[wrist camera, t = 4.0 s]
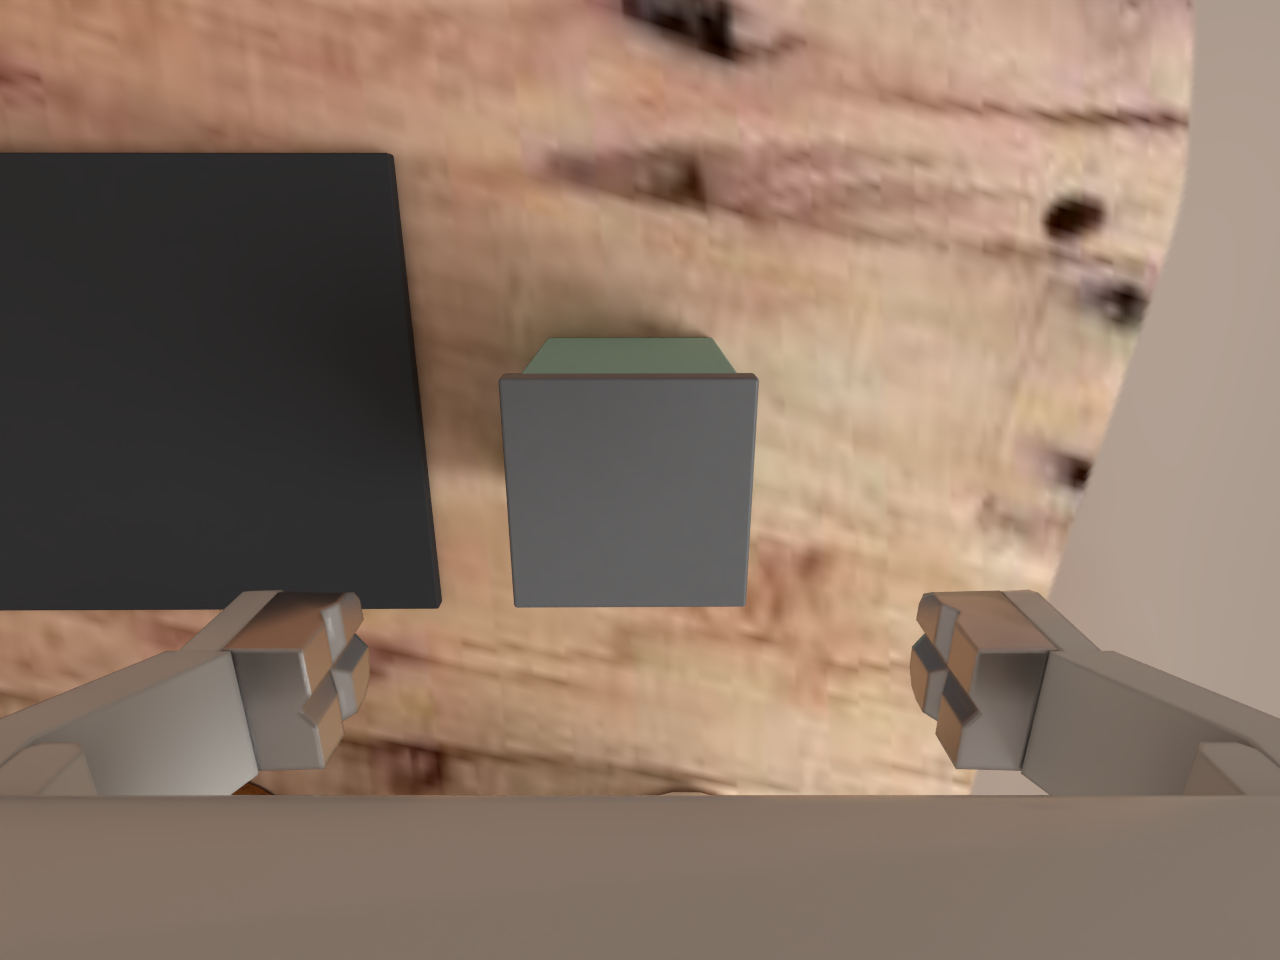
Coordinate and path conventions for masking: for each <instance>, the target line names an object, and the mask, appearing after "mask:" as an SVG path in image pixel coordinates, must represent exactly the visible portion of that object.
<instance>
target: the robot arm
mask: <svg viewBox="0 0 1280 960" xmlns="http://www.w3.org/2000/svg"><path fill="white" fill-rule="evenodd" d="M363 620H364V619H363V614H362V608H361V603H360V599H359V598H358V597H357V596H356V594H355V593H354V592H322V591H282V590H265V591H247V592H242V593H241V594H240V595H239V596H238V597H237V598H236V599H235V600H234V601H232V602H231V603H230V604H229V605H228V606H227V607H226V608H225V609H224V610H223V611H222V612H220V613H219V614H218V615H217V616H216V617H215V618H214V619H213V620H212V621H211V622H210V623H208V624H207V625H206V626H205V627H204V628H203V629H202V630H201V631H200V632H199V633H198V634H196V635H195V636H194V637H193V638H192V639H191V640H190V641H189V642H188V643H187V644H186V645H184V646H183V647H182V648H181V649H180V650H179V651H166V652H163V653H161V654H158V655H156V656H153V657H151V658H148V659H146V660H143V661H141V662H138V663H136V664H134V665H131V666H129V667H126V668H124V669H121V670H119V671H116V672H114V673H111V674H109V675H106V676H104V677H102V678H99V679H97V680H94V681H92V682H89V683H87V684H84V685H82V686H79V687H77V688H74V689H72V690H69V691H67V692H65V693H62V694H60V695H57V696H55V697H52V698H50V699H47V700H45V701H42V702H40V703H37V704H35V705H32V706H30V707H28V708H25V709H23V710H20V711H18V712H15V713H13V714H10V715H8V716H5V717H3V718H0V960H1280V719H1279V718H1277V717H1274V716H1272V715H1269V714H1267V713H1264V712H1262V711H1259V710H1257V709H1255V708H1252V707H1250V706H1247V705H1245V704H1242V703H1240V702H1237V701H1235V700H1232V699H1230V698H1227V697H1225V696H1223V695H1220V694H1218V693H1215V692H1213V691H1210V690H1208V689H1205V688H1203V687H1200V686H1198V685H1196V684H1193V683H1191V682H1188V681H1186V680H1183V679H1181V678H1178V677H1176V676H1173V675H1171V674H1168V673H1166V672H1164V671H1161V670H1159V669H1156V668H1154V667H1151V666H1149V665H1146V664H1144V663H1141V662H1139V661H1136V660H1134V659H1132V658H1129V657H1127V656H1124V655H1122V654H1119V653H1117V652H1114V651H1101V650H1100V649H1099V648H1098V647H1097V646H1096V645H1095V644H1093V643H1092V642H1091V641H1090V640H1089V639H1088V638H1087V637H1086V636H1085V635H1084V634H1083V633H1081V632H1080V631H1079V630H1078V629H1077V628H1076V627H1075V626H1074V625H1073V624H1072V623H1071V622H1069V621H1068V620H1067V619H1066V618H1065V617H1064V616H1063V615H1062V614H1061V613H1060V612H1059V611H1058V610H1056V609H1055V608H1054V607H1053V606H1052V605H1051V604H1050V603H1049V602H1048V601H1047V600H1046V599H1044V598H1043V597H1042V596H1041V595H1040V594H1039V593H1037V592H1034V591H1031V590H1015V591H966V592H931V593H925V594H923V596H922V599H921V601H920V603H919V607H918V613H917V619H916V620H917V622H918V623H919V625H920V626H921V628H922V629H923V631H924V632H925V634H924V635H923V636H922V637H921V638H920V639H919V640H918V641H917V642H916V643H915V644H914V645H913V646H912V652H911V660H910V675H911V685H912V689H913V692H914V695H915V698H916V701H917V702H918V704H919V706H920V708H921V710H922V712H924V713H925V714H927V715H928V716H930V717H932V718H933V719H935V720H936V721H937V727H936V733H935V734H936V736H937V737H938V739H939V741H940V743H941V744H942V746H943V748H944V749H945V751H946V753H947V754H948V756H949V758H950V760H951V761H952V763H953V765H954V766H955V768H956V769H978V770H1016V771H1021V774H1022V775H1024V776H1025V777H1026V778H1028V779H1029V780H1030V781H1032V782H1033V783H1035V784H1036V785H1037V786H1038V787H1040V788H1041V789H1042V790H1044V791H1045V792H1046V793H1048V794H1049V795H231V794H232V793H234V792H235V791H236V790H238V789H239V788H240V787H242V786H243V785H244V784H246V783H247V782H248V781H250V780H251V779H253V778H254V777H255V776H257V775H258V774H259V772H258V771H265V770H300V769H324V768H325V766H326V765H327V763H328V761H329V760H330V758H331V756H332V755H333V753H334V751H335V749H336V748H337V746H338V744H339V743H340V741H341V739H342V737H343V736H344V734H345V733H344V727H343V721H344V720H345V719H347V718H348V717H350V716H352V715H353V714H355V713H356V712H358V710H359V708H360V706H361V704H362V702H363V700H364V699H365V696H366V691H367V687H368V683H369V679H370V658H369V651H368V646H367V645H366V644H365V643H364V642H363V641H362V640H361V639H360V638H359V637H358V636H357V635H356V634H355V632H356V631H357V629H358V628H359V626H360V625H361V623H362V622H363Z"/></svg>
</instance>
